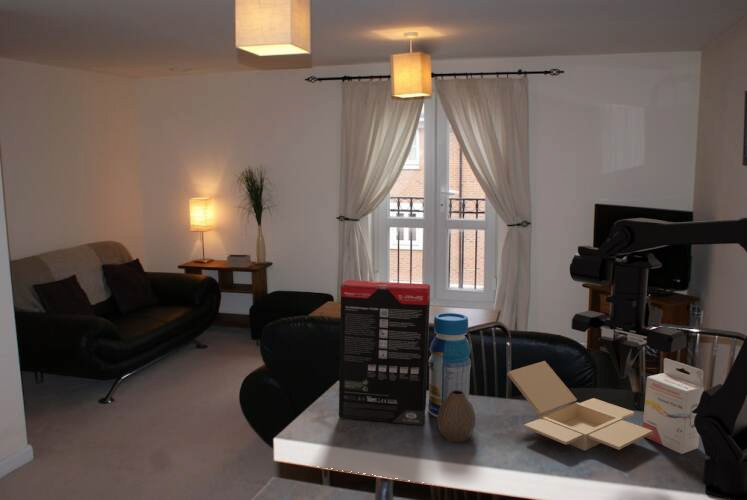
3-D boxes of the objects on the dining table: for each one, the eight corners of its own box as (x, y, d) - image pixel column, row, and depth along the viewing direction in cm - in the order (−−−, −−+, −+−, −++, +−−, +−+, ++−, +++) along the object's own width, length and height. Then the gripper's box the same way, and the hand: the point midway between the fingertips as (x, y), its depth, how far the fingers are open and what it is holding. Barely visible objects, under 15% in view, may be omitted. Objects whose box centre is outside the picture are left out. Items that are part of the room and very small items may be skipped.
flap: (576, 399, 127) (544, 360, 132) (540, 413, 119) (508, 371, 125) (575, 401, 127) (543, 362, 132) (538, 415, 120) (506, 373, 125)
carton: (666, 437, 118) (667, 422, 118) (599, 472, 104) (600, 455, 104) (590, 410, 130) (591, 396, 130) (521, 438, 117) (521, 422, 116)
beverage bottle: (461, 424, 123) (464, 323, 120) (420, 415, 127) (423, 318, 124) (474, 409, 130) (478, 314, 128) (436, 402, 134) (439, 309, 131)
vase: (464, 449, 112) (465, 402, 111) (430, 439, 116) (431, 393, 115) (481, 436, 118) (483, 390, 117) (448, 426, 122) (449, 382, 120)
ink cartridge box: (640, 436, 118) (646, 360, 116) (657, 431, 121) (663, 356, 119) (682, 455, 111) (689, 374, 109) (699, 449, 114) (706, 369, 111)
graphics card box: (427, 413, 128) (430, 280, 124) (425, 427, 121) (428, 287, 117) (344, 407, 130) (345, 277, 127) (337, 421, 124) (338, 284, 120)
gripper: (705, 294, 107) (697, 383, 110) (606, 277, 122) (601, 356, 124) (673, 302, 101) (665, 397, 103) (571, 284, 115) (567, 367, 117)
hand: (622, 377), depth 112 cm, fingers closed
